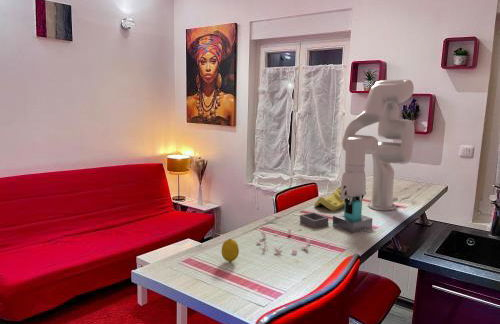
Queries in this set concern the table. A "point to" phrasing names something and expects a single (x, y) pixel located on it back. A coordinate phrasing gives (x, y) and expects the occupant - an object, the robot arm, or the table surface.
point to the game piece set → (282, 246)
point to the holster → (314, 220)
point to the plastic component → (332, 201)
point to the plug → (354, 210)
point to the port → (352, 223)
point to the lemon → (230, 250)
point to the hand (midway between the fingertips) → (352, 211)
